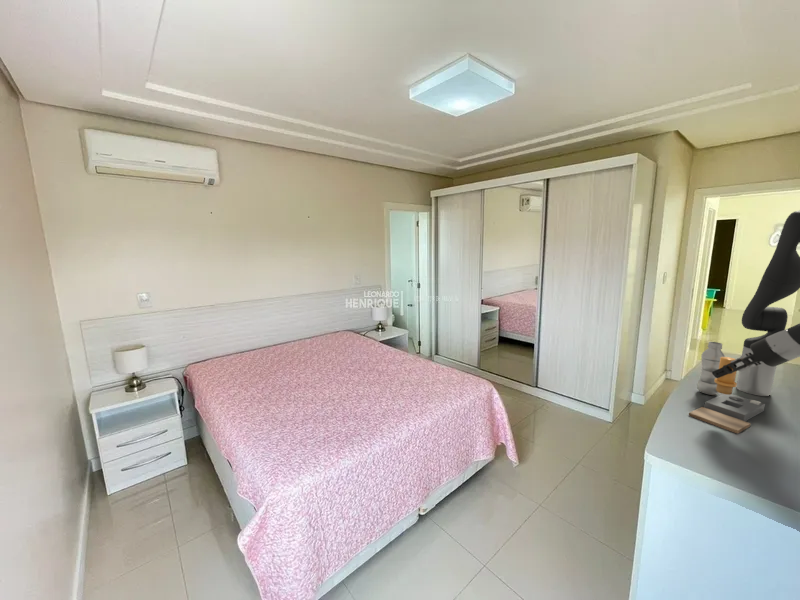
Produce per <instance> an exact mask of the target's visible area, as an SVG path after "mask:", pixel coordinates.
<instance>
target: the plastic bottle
mask: <svg viewBox="0 0 800 600" xmlns="http://www.w3.org/2000/svg"><path fill="white" fill-rule="evenodd" d="M707 347H708V348H707V349H705V350H704V351H703V352H702V354H701V369H700V370H701V372H700V376H699V379H698V380H697V384H696V386H697V387H696V388H697V390H698V391H699V392H700V393H703V394H705V395H709V396H719V394H720V393H719V392H717V391H716V387H717V383H715V382H714V380H715V378H716V377H715V376H714V375H713V374H712V372H713V371H715V370H718V369H719V364H720V358H721V357H726V356H725V354H724V353H723V351H722V349H723V343H722V342H717V341H708V344H707Z"/></svg>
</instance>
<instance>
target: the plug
mask: <svg viewBox="0 0 800 600" xmlns="http://www.w3.org/2000/svg"><path fill="white" fill-rule="evenodd" d="M735 359H736V358H734V357H729V356H725V357H721V358H720V364H719V369H720V368H722V367H723V366H724V365H727V364H730V363H731V361H733V360H735ZM729 367H730V366H729ZM730 368H731V367H730ZM731 369H732V368H731ZM732 371H733V369H732ZM737 372H738V371H735V372H733V373H732V374H727V375H724V376H722V377H720V378H715V380H714V382H715V383H717V387H716V391H717V392H719V394H721V395H722V394H727V395H731V394H733V390H734V389H733V388H736V386H737V381H736V376H737Z"/></svg>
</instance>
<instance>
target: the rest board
mask: <svg viewBox="0 0 800 600" xmlns="http://www.w3.org/2000/svg"><path fill="white" fill-rule="evenodd" d="M688 416H689V417H692V418H694V419H697V420H700V421H703V422H706V423H708V424H711V425H713V426H716V427H719V428H721V429H724V430H726V431H730V432H732V433H735V434H739V433H742V432H743V431H744V430H746V429H748V428H749V427H751V422H749V421H748V422H747V421H742V420H739V419H737V418H734V417H731V416H728V415H725V414H722V413H719V412H716V411H713V410H710V409H707V408H704V406H700V407H698V408H697V409H694V410H691V411H690V412H689V413H688Z"/></svg>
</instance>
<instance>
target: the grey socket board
mask: <svg viewBox="0 0 800 600" xmlns="http://www.w3.org/2000/svg"><path fill="white" fill-rule="evenodd" d="M765 406H766V404H765V403H762V402H761V401H759V400H755V399H749V398H746V397H742V396H739V395H736V394H733V393H732V394H731V395H727V394H722V393H721V394H720V395H719V394H718V395H716V396H715V397H712V398H710V399H709V400H706V401H705V402H704V406H703V407H704V408H707V409H710V410H713V411H716V412H719V413H722V414H725V415H728V416H731V417H734V418H737V419H739V420H742V421H745V422H747V421H748V420H750V419H752V418H753V417H755V416H758V415H759V414H760V413H763V412H764V411H765Z"/></svg>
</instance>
